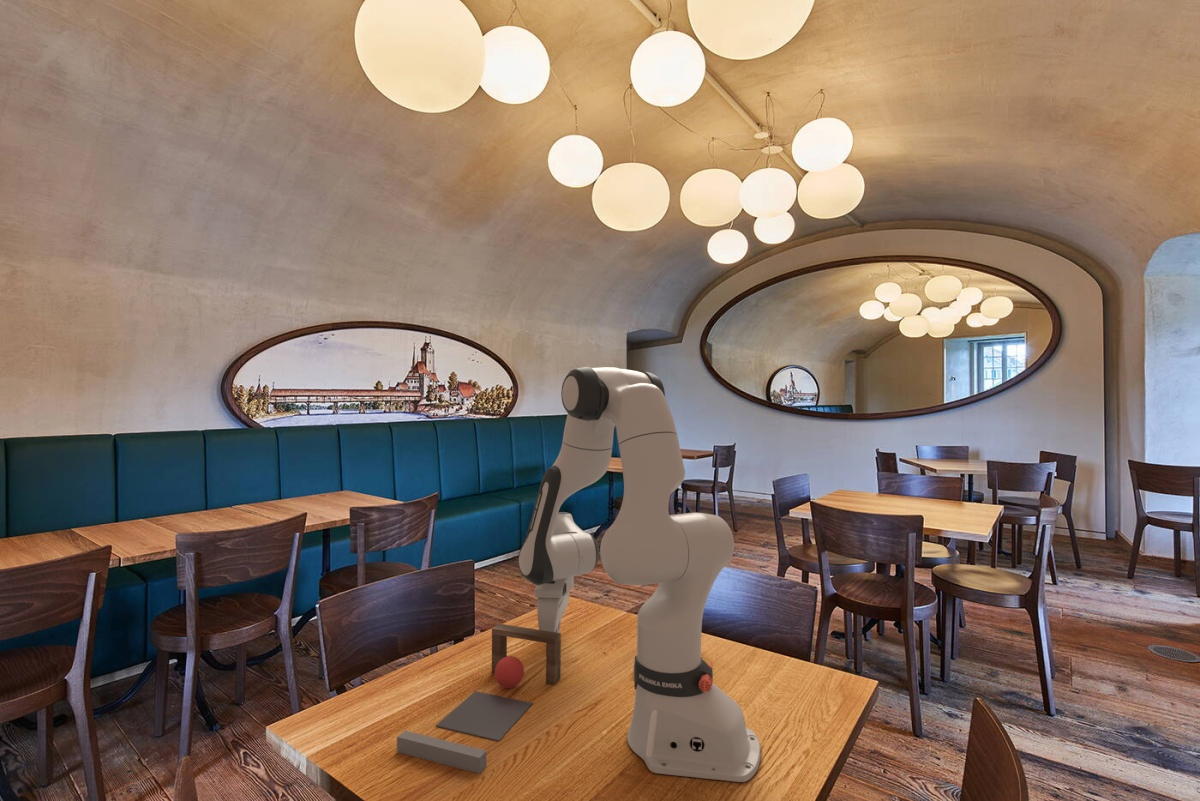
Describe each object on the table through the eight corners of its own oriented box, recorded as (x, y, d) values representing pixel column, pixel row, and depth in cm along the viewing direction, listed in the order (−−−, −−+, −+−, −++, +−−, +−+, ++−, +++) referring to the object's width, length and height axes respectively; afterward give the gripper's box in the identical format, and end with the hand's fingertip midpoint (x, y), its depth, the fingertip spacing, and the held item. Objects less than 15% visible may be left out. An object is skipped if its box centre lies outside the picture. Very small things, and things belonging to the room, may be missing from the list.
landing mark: (532, 703, 109) (532, 702, 109) (498, 741, 97) (498, 740, 97) (475, 691, 113) (475, 690, 113) (435, 726, 101) (435, 725, 101)
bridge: (498, 667, 124) (499, 623, 124) (560, 678, 119) (560, 633, 119) (491, 673, 121) (491, 628, 121) (554, 685, 116) (554, 638, 116)
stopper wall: (486, 766, 90) (486, 750, 90) (479, 773, 88) (479, 757, 88) (404, 745, 95) (405, 730, 95) (397, 751, 94) (397, 736, 94)
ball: (530, 658, 118) (518, 657, 113) (526, 689, 116) (513, 690, 111) (505, 654, 120) (492, 654, 115) (500, 685, 118) (486, 686, 113)
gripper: (550, 566, 145) (550, 619, 145) (532, 592, 125) (532, 654, 124) (574, 567, 144) (574, 621, 144) (560, 593, 124) (560, 656, 124)
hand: (554, 637), depth 134 cm, fingers closed
